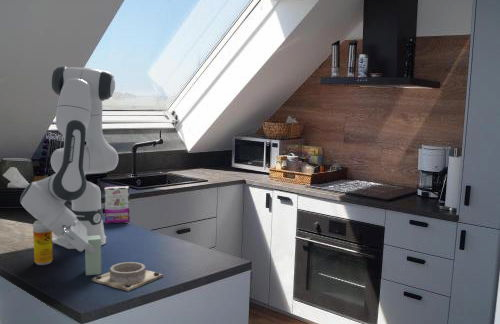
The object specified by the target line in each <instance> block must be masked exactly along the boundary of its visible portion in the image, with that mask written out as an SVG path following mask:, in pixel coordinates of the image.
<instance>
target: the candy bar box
mask: <svg viewBox="0 0 500 324" xmlns="http://www.w3.org/2000/svg"><path fill="white" fill-rule="evenodd" d="M129 187H130V186H129V185H127V186H126V185H125V186H123V185H121V186H105V187H104V191H103V194H104V223H105V224H124V223H125V224H126V223H130V222H131V214H130V213H131V211H130V209H131V208H130V188H129Z"/></svg>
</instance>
